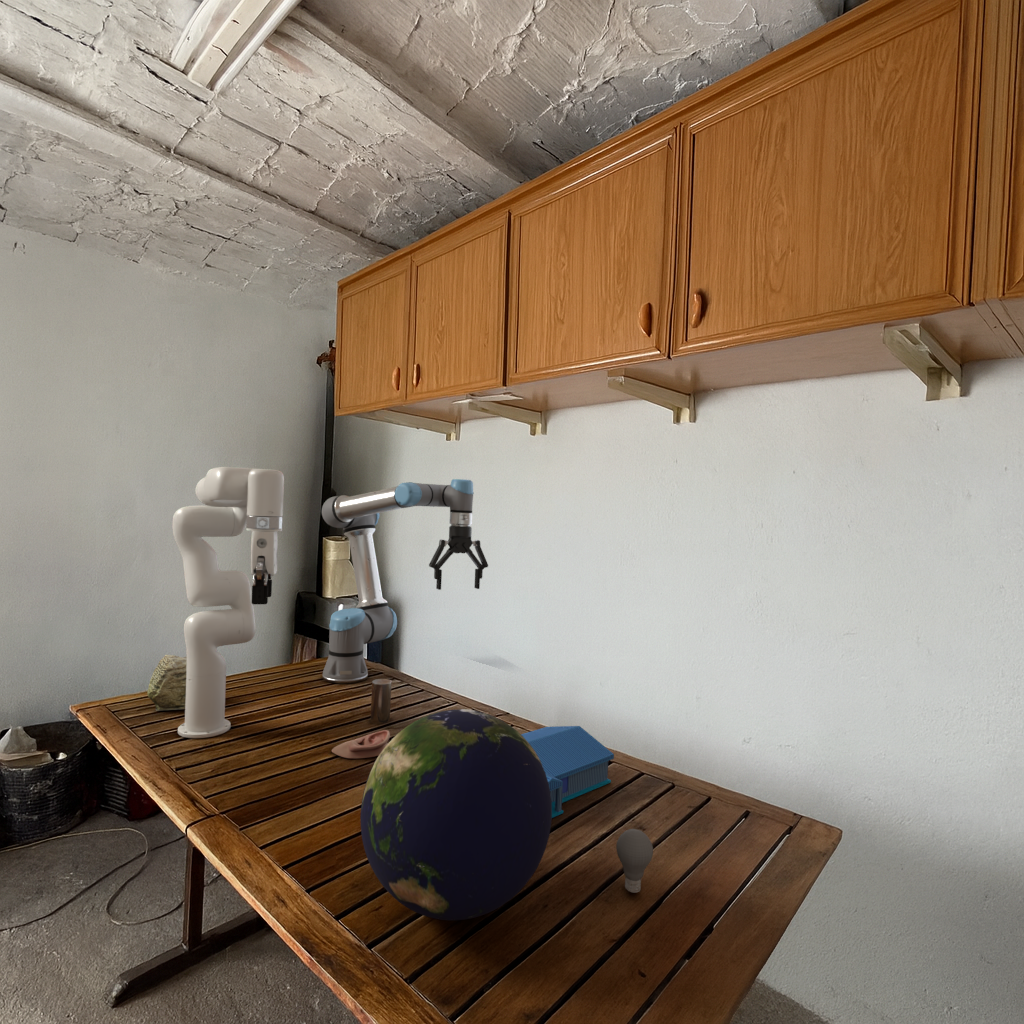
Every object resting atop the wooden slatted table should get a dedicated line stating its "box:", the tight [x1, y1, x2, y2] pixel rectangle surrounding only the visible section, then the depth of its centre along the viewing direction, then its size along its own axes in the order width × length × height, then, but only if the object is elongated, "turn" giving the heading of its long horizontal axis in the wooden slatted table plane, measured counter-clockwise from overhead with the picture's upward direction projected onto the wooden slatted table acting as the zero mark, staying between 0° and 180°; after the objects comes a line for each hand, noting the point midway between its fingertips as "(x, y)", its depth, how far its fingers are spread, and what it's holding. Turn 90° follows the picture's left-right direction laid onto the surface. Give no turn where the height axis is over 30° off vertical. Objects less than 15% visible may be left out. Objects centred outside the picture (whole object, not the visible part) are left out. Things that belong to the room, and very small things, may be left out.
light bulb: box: [615, 828, 654, 894], centre depth 106 cm, size 6×6×10 cm
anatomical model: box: [331, 729, 391, 759], centre depth 159 cm, size 13×4×12 cm
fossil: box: [147, 654, 187, 712], centre depth 185 cm, size 9×18×15 cm, turn 132°
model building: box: [520, 725, 615, 819], centre depth 140 cm, size 39×24×10 cm, turn 132°
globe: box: [360, 708, 553, 922], centre depth 100 cm, size 30×30×30 cm
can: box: [370, 678, 392, 725], centre depth 180 cm, size 5×5×11 cm
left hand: (261, 600), depth 142 cm, fingers open, 9 cm apart
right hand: (458, 588), depth 212 cm, fingers open, 13 cm apart
